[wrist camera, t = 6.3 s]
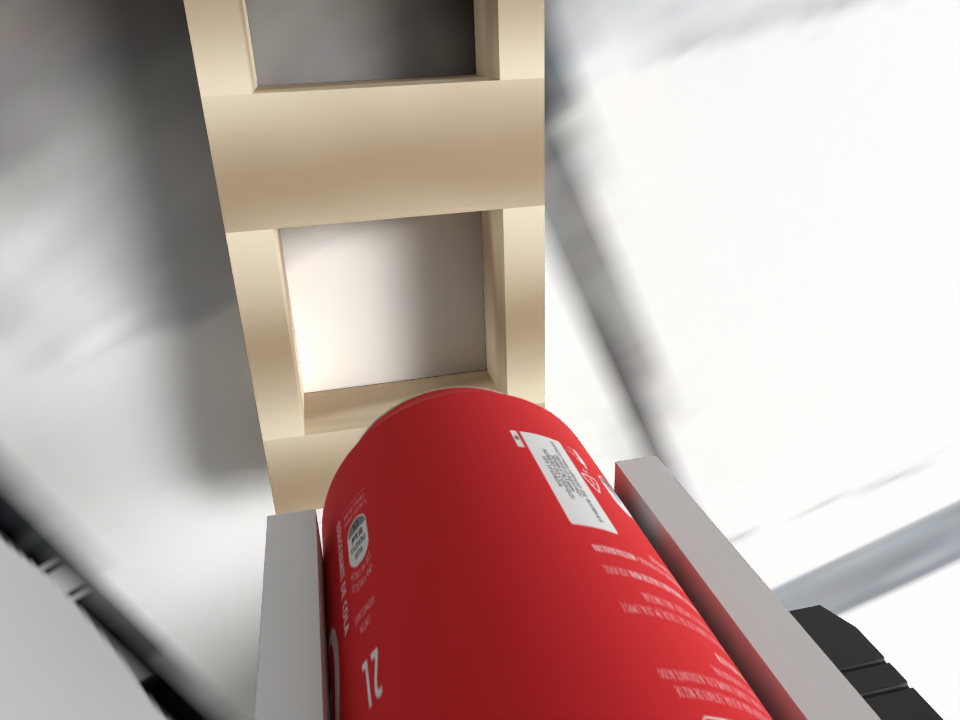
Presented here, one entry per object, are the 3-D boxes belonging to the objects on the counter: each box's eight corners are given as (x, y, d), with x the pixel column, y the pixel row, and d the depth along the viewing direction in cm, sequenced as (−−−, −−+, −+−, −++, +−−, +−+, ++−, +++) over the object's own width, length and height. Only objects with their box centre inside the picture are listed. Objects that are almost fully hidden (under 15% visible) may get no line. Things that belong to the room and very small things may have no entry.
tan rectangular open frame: (141, -327, 18) (113, -390, 15) (509, -311, 19) (543, -365, 17) (278, 466, 27) (276, 515, 24) (521, 431, 28) (544, 473, 26)
